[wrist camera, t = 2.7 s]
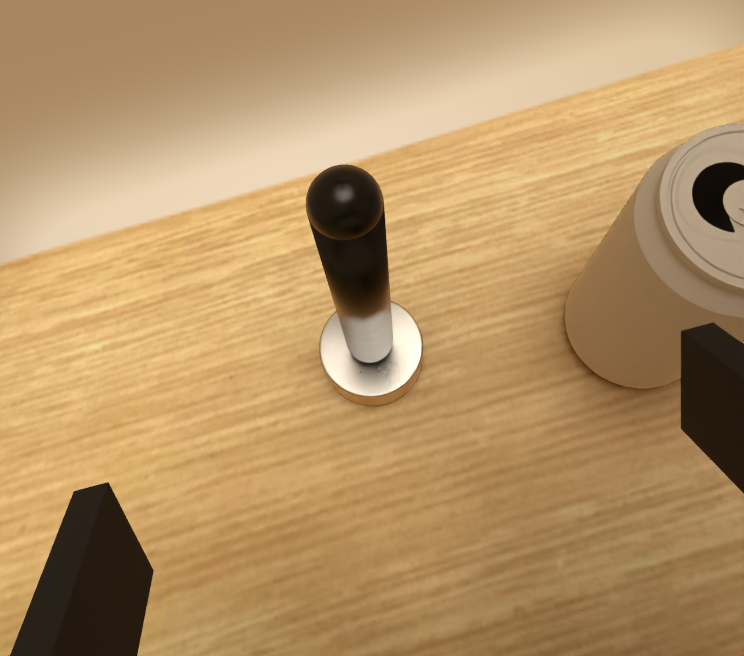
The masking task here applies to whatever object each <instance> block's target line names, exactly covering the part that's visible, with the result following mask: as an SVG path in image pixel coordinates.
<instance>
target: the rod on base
mask: <svg viewBox="0 0 744 656" xmlns="http://www.w3.org/2000/svg"><path fill="white" fill-rule="evenodd" d="M306 211H307V215H308V219H309V222H310V225H311V229H312V232H313V235H314V239H315V242H316V245H317V248H318V252H319V255H320V258H321V262H322V265H323V268H324V271H325V275H326V278H327V281H328V285H329V288H330V291H331V294H332V298H333V301H334V304H335V308H336V312H335V313H334V314H333V315H332V316H331V317H330V318H329V320H328V321H327V323H326V324H325V326H324V328H323V331H322V334H321V337H320V343H319V353H320V359H321V363H322V366H323V368H324V370H325V372H326V374H327V376H328V379H329V380H330V382H331V384H332V385H333V387H334V388H335V389H336V390H337V391H338V392H339V393H340V394H341V395H342V396H344V397H345V398H347V399H349V400H350V401H353V402H355V403H358V404H362V405H369V406H377V405H383V404H387V403H390V402H392V401H395V400H397V399H398V398H400V397H402V396H403V395H404V394H405V393H407V392H408V391H409V390H410V388H411V387H412V386H413V385H414V383H415V381H416V380H417V378H418V375H419V373H420V370H421V366H422V355H423V340H422V335H421V331H420V329H419V326H418V324H417V323H416V321H415V319H414V318H413V317H412V316H411V314H410V313H409V312H408V311H407V310H405V309H404V308H403V307H401V306H400V305H398V304H396V303H394V302H392V301H390V286H389V271H388V257H387V242H386V228H385V213H384V200H383V195H382V191H381V189H380V187H379V185H378V183H377V182H376V180H375V179H374V178H373V177H372V176H371V175H370V174H369V173H368V172H366V171H365V170H363V169H361V168H358V167H356V166H352V165H337V166H333V167H330V168H328V169H326V170H324V171H323V172H322V173H320V174H319V175H318V176H317V177H316V178H315V179H314V180H313V182H312V183H311V185H310V187H309V190H308V193H307V197H306Z"/></svg>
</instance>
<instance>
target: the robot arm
mask: <svg viewBox="0 0 744 656" xmlns="http://www.w3.org/2000/svg"><path fill="white" fill-rule="evenodd" d="M681 429H682V430H683V431H684V432H685V433H686V434H687V435H688V436H689V437H690V438H691V439H692V441H693V442H694V443H695V444H696V445H697V446H698V447H699V448H700V449H701V450H702V451H703V452H704V453H705V454H706V455H707V456H708V457H709V458H710V459H711V460H712V461H713V462H714V463H715V464H716V465H717V466H718V467H719V468H720V469H721V470H722V471H723V472H724V473H725V474H726V475H727V476H728V478H729V479H730V480H731V481H732V482H733V483H734V484H735V485H736V486H737V487H738V488H739V489H740V490H741V491H742V492H743V493H744V344H743V343H742V342H740V341H739V340H737V339H736V338H735V337H733V336H732V335H730V334H729V333H728V332H726V331H725V330H723V329H722V328H721V327H719V326H718V325H716V324H715V323H714V322H712V323H708V324H705V325H701V326H697V327H693V328H690V329H686V330H682V331H681ZM152 576H153V569H152V567H151V565H150V563H149V561H148V559H147V557H146V555H145V553H144V551H143V549H142V547H141V545H140V543H139V541H138V539H137V537H136V535H135V533H134V532H133V530H132V528H131V526H130V524H129V522H128V520H127V518H126V516H125V514H124V512H123V510H122V508H121V506H120V504H119V502H118V500H117V498H116V496H115V494H114V492H113V490H112V489H111V487H110V485H109V483H108V482H107V483H104V484H100V485H96V486H92V487H89V488H85V489H81V490H77V491H74V492H73V495H72V498H71V500H70V503H69V505H68V508H67V510H66V513H65V516H64V518H63V521H62V523H61V526H60V528H59V531H58V534H57V536H56V539H55V541H54V544H53V546H52V549H51V552H50V554H49V557H48V559H47V562H46V564H45V567H44V570H43V572H42V575H41V577H40V580H39V582H38V585H37V588H36V590H35V593H34V595H33V598H32V601H31V603H30V606H29V608H28V611H27V613H26V616H25V619H24V621H23V624H22V626H21V629H20V631H19V634H18V637H17V639H16V642H15V644H14V647H13V649H12V652H11V655H10V656H137V653H138V648H139V643H140V638H141V633H142V628H143V622H144V617H145V612H146V607H147V602H148V597H149V592H150V586H151V581H152Z"/></svg>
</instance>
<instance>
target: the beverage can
mask: <svg viewBox="0 0 744 656" xmlns="http://www.w3.org/2000/svg"><path fill="white" fill-rule="evenodd" d="M712 322H714V323H715V324H716V325H718V326H719V327H721V328H722V329H723V330H725V331H726V332H728V333H729V334H730V335H732V336H733V337H735V338H736V339H737V340H739V341H740V342H743V341H744V123H733V124H727V125H721V126H717V127H714V128H711V129H708V130H705V131H703V132H701V133H699V134H697V135H696V136H694V137H693V138H691V139H690V140H688V141H687V142H685V143H683V144H681V145H679V146H677V147H675V148H674V149H672V150H671V151H669V152H668V153H666V154H665V155H663V156H662V157H660V158H659V159H658V160H657V161H656V162H655V163H654V164H653V165H652V166H651V168H650V169H649V170H648V171H647V173H646V174H645V176H644V177H643V179H642V180H641V182H640V183H639V185H638V186H637V188H636V189H635V191H634V192H633V194H632V196H631V197H630V199H629V200H628V202H627V203H626V205H625V206H624V208H623V209H622V211H621V212H620V214H619V215H618V217H617V218H616V220H615V221H614V223H613V225H612V226H611V228H610V229H609V231H608V232H607V234H606V235H605V237H604V238H603V240H602V241H601V243H600V244H599V246H598V247H597V249H596V250H595V252H594V254H593V255H592V257H591V258H590V260H589V261H588V263H587V264H586V266H585V267H584V269H583V270H582V272H581V273H580V275H579V276H578V278H577V279H576V281H575V283H574V284H573V286H572V288H571V290H570V292H569V294H568V297H567V301H566V305H565V326H566V331H567V334H568V338H569V340H570V342H571V345H572V347H573V348H574V350H575V352H576V353H577V355H578V356H579V357H580V359H581V360H582V361H583V362H584V363H585V364H586V365H587V366H588V367H589V368H590V369H591V370H592V371H594V372H595V373H596V374H598V375H599V376H601V377H603V378H604V379H606V380H608V381H610V382H613V383H616V384H619V385H622V386H626V387H631V388H655V387H660V386H664V385H667V384H670V383H672V382H674V381H676V380H678V379H680V378H681V331H682V330H686V329H690V328H693V327H697V326H701V325H705V324H708V323H712Z"/></svg>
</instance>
